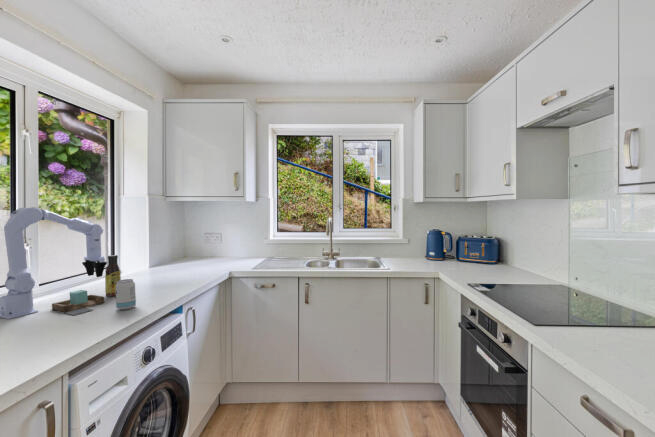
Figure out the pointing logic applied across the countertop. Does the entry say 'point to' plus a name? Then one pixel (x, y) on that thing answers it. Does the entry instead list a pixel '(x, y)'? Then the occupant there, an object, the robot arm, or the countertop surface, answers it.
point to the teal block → (78, 297)
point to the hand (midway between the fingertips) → (95, 276)
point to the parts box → (67, 307)
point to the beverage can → (125, 294)
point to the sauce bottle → (112, 276)
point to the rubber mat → (78, 311)
